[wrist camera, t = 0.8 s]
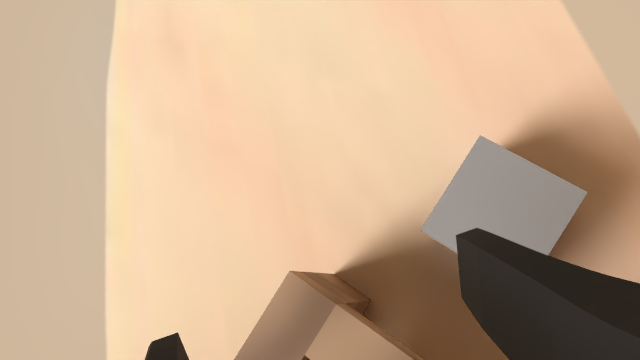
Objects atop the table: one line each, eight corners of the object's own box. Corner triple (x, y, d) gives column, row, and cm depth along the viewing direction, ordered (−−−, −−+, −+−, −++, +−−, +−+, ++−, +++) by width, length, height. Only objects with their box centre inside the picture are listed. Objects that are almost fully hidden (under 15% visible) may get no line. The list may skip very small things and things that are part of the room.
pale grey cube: (571, 207, 28) (587, 192, 23) (518, 292, 28) (523, 294, 23) (482, 159, 29) (480, 135, 25) (431, 238, 29) (420, 230, 25)
